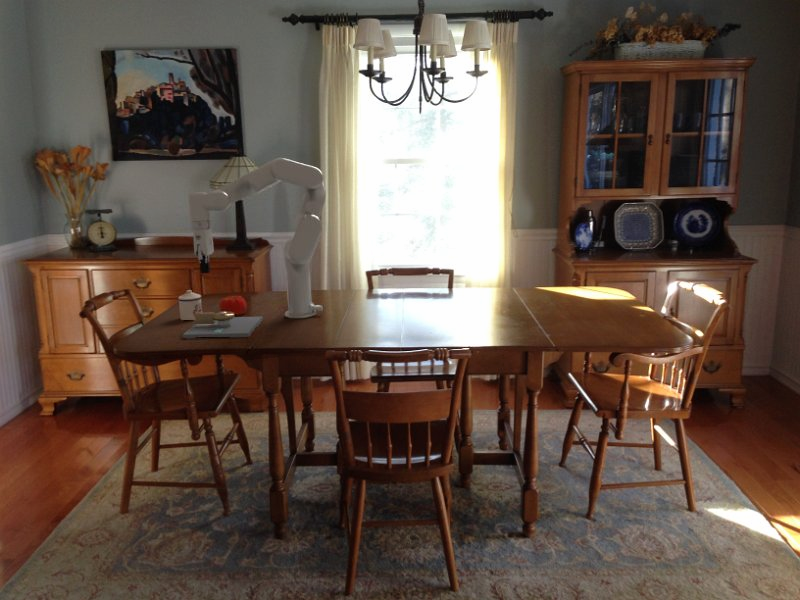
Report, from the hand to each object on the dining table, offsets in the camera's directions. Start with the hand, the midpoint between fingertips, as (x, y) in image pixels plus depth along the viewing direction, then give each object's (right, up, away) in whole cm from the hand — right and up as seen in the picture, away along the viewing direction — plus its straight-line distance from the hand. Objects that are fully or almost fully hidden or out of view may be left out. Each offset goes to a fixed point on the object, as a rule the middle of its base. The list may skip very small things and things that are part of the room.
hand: (205, 272), depth 260 cm
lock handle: (+5, -19, -3) cm, 20 cm away
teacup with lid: (-10, -18, +16) cm, 26 cm away
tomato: (+6, -17, +19) cm, 26 cm away
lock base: (+8, -22, -3) cm, 23 cm away
